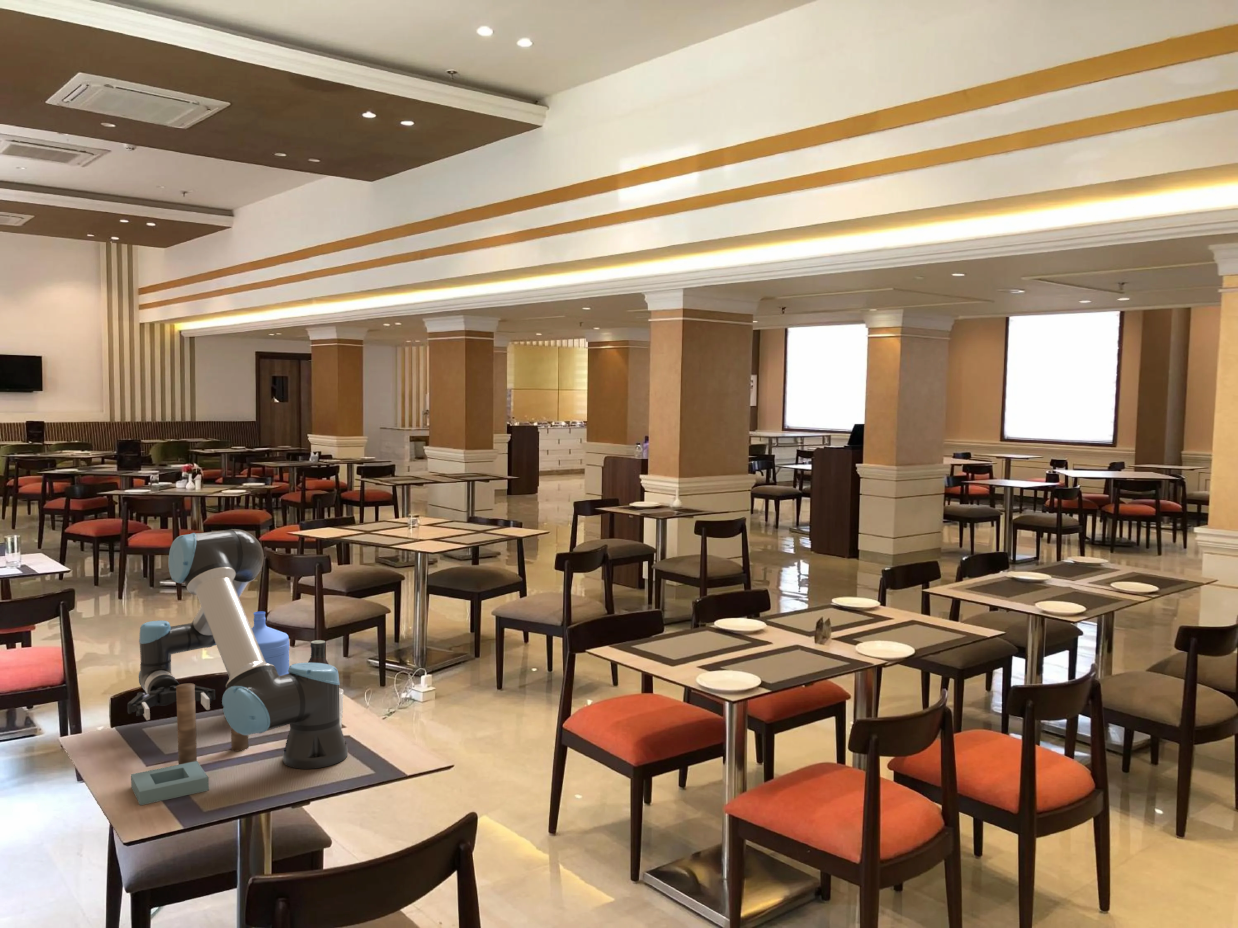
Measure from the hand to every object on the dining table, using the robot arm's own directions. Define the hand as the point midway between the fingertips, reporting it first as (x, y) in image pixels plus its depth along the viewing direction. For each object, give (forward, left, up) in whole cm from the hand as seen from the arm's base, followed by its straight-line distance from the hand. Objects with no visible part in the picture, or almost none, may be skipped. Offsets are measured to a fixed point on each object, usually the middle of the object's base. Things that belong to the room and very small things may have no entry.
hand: (178, 709), depth 234 cm
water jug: (+9, -36, -12) cm, 39 cm away
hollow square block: (-14, +15, -12) cm, 24 cm away
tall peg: (-8, +4, -12) cm, 15 cm away
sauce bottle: (-6, -42, -12) cm, 44 cm away
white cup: (-19, -32, -12) cm, 39 cm away
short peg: (-9, -11, -12) cm, 18 cm away
